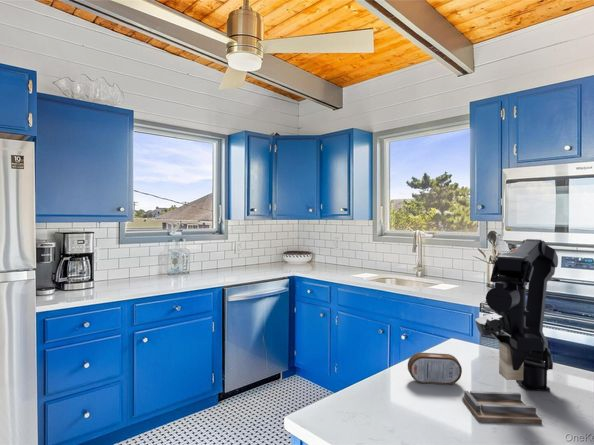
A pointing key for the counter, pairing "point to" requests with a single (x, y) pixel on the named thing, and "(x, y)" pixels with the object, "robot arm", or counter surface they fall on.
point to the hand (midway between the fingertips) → (511, 366)
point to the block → (508, 364)
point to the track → (500, 407)
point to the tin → (434, 368)
